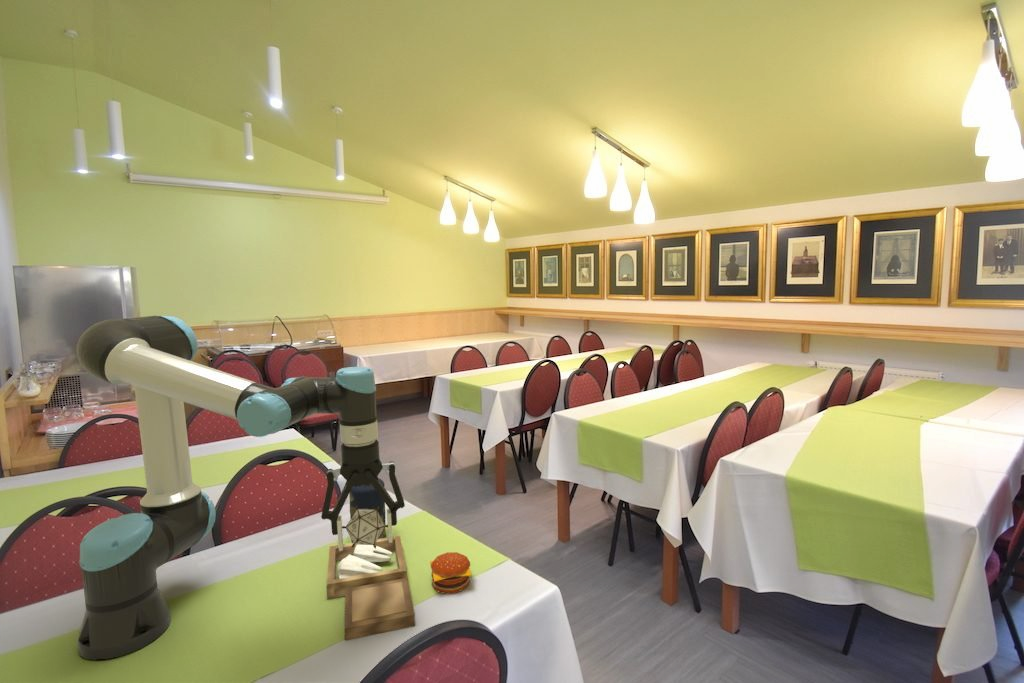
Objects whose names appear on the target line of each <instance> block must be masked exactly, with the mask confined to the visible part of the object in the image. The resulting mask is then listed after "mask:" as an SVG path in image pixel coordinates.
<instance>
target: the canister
mask: <svg viewBox="0 0 1024 683" xmlns="http://www.w3.org/2000/svg"><path fill="white" fill-rule="evenodd" d="M379 480H380V482H381V483H382V485H383V486H384V487H385V481H384V480H382V479H381V478H379ZM348 497H349V513H350V514H349V515H350V518H349V519H351V518H352V516H353V515H354V513H355V512H356V510H357V509H356V508H355V507H356V506H358V509H377V507H378V506H379V510H378V512H379V514H380V516H381V518H382V520H383V522H384V524H385V525H386V503H385V502H384V500H383V499H382V497H381V496H380V495H379V493H378V492H377V490H376V489H375V488H374V487H373V485H372V484H370V485H367V486H365V485H362V486H359V487H355V486H353V487H352V489H351V491H350V493H349V495H348ZM386 530H387V529H386V527H385V528H384V530H383V531H382V533H381V535H380V536H379V538H378V539H382V538H386V535H387V531H386ZM351 541H352V540H351ZM351 543H353V541H352V542H351Z"/></svg>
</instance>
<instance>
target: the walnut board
mask: <svg viewBox="0 0 1024 683" xmlns="http://www.w3.org/2000/svg"><path fill="white" fill-rule="evenodd" d="M415 617H416V615H415V610H414V604H413V599H412V594H411V589H410V584H409V579H408V577H407V578H404V579H398V580H392V581H387V582H381V583H376V584H370V585H364V586H359V587H353V588H348V589H345V596H344V628H343V630H344V641H349V640H353V639H358V638H362V637H368V636H372V635H376V634H382V633H387V632H391V631H396V630H401V629H406V628H410V627H409V626H411V627H414V626H413V625H415V626H416V618H415ZM405 627H406V628H405Z"/></svg>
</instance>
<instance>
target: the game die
mask: <svg viewBox="0 0 1024 683" xmlns="http://www.w3.org/2000/svg"><path fill="white" fill-rule="evenodd" d="M355 508H356V509H357V510H356V512H355V513H354V515H353V516H352V518H351V519H350V518H349V519H350V520H349V521H348V522H347V524H346V526H345V525H342V527H341V528H342V530H344V529H346V531H347V533H348V535H349V538H350V539H351V541H353V542H352V543H354V544H353V545H352V547H354V546H355V544H359V545H373V547H374V548H375V549H376V545H375V543H376V541H377V540H378V538H379V536H380V535H381V533H382V531H383V530H384V528H385V529H386V528H387V529H388V524H386V523H385V524H384V522H383V520H382V518H381V516H380V514H379V512H378V510H379V506H378V507H377V509H358V506H356V507H355Z"/></svg>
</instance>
